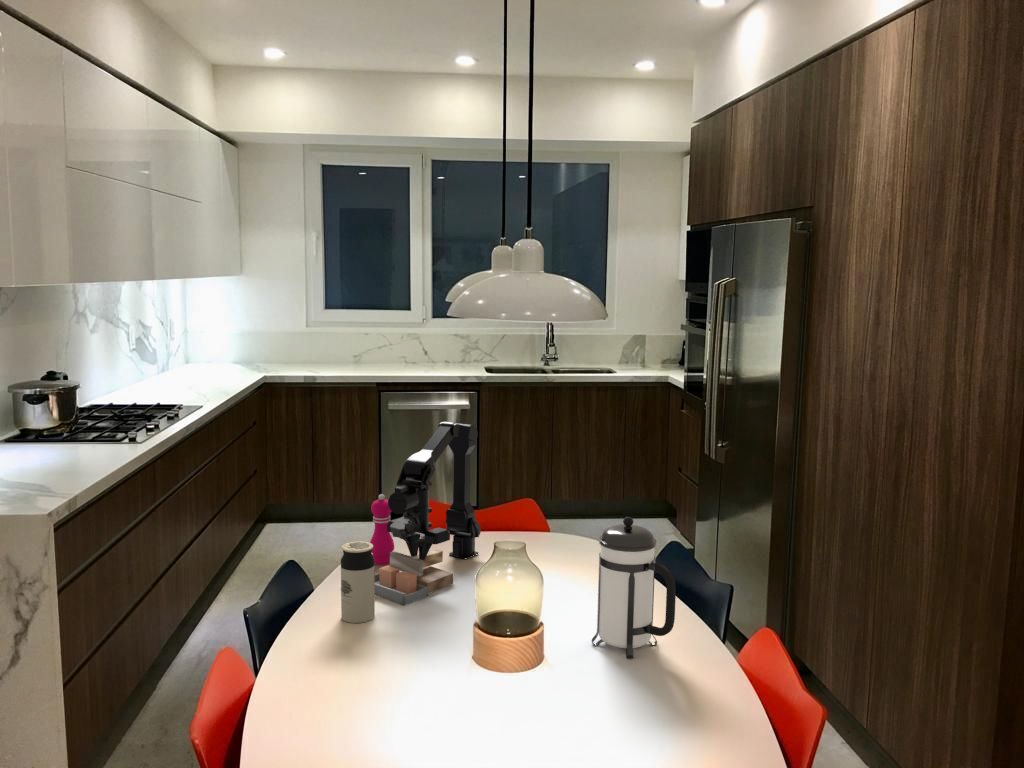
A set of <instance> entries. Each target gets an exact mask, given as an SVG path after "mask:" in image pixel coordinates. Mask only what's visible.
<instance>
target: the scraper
mask: <svg viewBox="0 0 1024 768" xmlns="http://www.w3.org/2000/svg"><path fill="white" fill-rule="evenodd" d="M443 555H444V552H443V550H441V549H434V550H429V552H428V554H427V556H426V558H425V560H421V559H419V554H418V555H416V556H412V557H411V555H408V554H404V553H401V552H398V551H396V550H393V552H391V553H390V563H389V566H391V567H394V568H398V569H399V570H400V571H406V572H410V573H413V574H416V575H417V576H421V575H423V568H424V567H427V566H431V567H432V566H433V565H436V564H440V563H443V559H444V556H443Z"/></svg>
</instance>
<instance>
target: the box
mask: <svg viewBox="0 0 1024 768" xmlns="http://www.w3.org/2000/svg"><path fill="white" fill-rule="evenodd" d="M374 585H375V595H376V596H375V597H378V596H379V598H381V599H383V600H384V599H385V600H386V599H387V600H386V601H390V602H393V603H395V604H398V605H401V606H403V607H405V606H406V605H409V604H412V603H414V602H417V601H420V600H421V599H423V598H426V597H428V596H429V597H430V593H429V587H426V586H423V585H419V584H417V591H416V592H413V593H410V594H405V593H402V592H400V591H397V590H396V587H394V588H388V587H385V586H382V585H380V584H379V572H377V573H374Z"/></svg>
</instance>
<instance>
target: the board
mask: <svg viewBox="0 0 1024 768" xmlns="http://www.w3.org/2000/svg"><path fill="white" fill-rule="evenodd" d="M400 572H403V571H400V570H399V573H400ZM417 584H419V585H423V586H426V587H429V594H431V592H432V593H434V592H436V590H437V591H438V590H439V591H440V590H441V588H442V589H444V588H447V587H449V586H451V584H452V585H454V572H450V571H447V570H444V569H440V568H437V567H434V566H432V565H431V566H427V567H424V568H423V575H421V576H417ZM446 586H447V587H446Z"/></svg>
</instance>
